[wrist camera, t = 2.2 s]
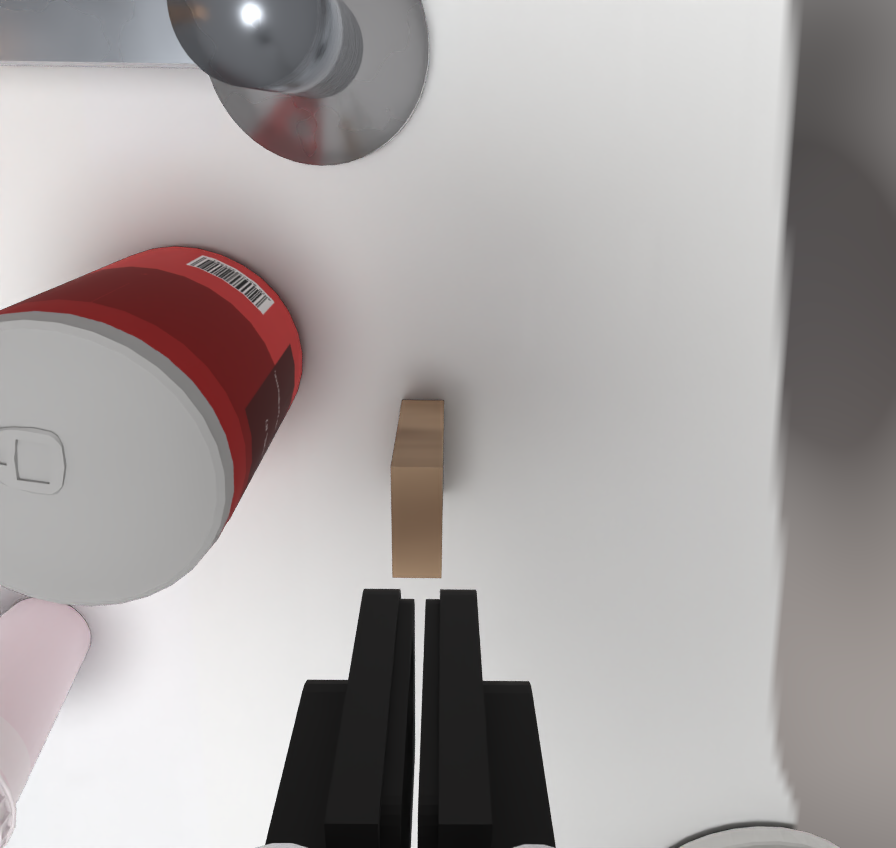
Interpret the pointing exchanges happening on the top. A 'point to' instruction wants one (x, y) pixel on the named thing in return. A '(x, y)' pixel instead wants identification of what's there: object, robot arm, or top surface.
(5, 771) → the smoothie
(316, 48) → the double handled crank lever
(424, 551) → the brown wooden block
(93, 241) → the top surface
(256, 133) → the pivot base
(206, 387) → the canned food
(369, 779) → the robot arm
